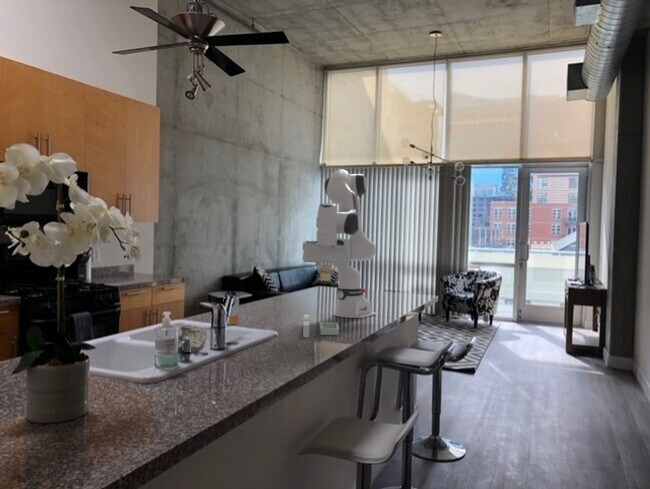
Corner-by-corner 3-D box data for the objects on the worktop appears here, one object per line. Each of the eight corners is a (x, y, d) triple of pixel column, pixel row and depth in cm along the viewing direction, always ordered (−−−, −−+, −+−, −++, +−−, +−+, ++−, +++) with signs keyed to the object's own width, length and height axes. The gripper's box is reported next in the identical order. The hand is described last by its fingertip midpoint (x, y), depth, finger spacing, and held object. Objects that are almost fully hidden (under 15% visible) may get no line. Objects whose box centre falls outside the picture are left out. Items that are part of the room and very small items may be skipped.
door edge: (303, 324, 237) (304, 313, 237) (309, 325, 237) (309, 313, 237) (303, 337, 211) (303, 324, 211) (309, 337, 211) (309, 324, 211)
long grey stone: (175, 358, 180) (204, 359, 182) (176, 343, 179) (205, 344, 181) (182, 332, 214) (206, 332, 216) (182, 319, 213) (207, 320, 215)
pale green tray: (320, 328, 230) (320, 322, 230) (337, 328, 230) (337, 322, 230) (320, 334, 216) (320, 328, 216) (338, 335, 217) (339, 328, 217)
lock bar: (329, 280, 218) (330, 266, 218) (320, 280, 218) (320, 266, 218) (330, 278, 228) (331, 264, 228) (321, 278, 228) (322, 264, 228)
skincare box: (228, 325, 232) (229, 298, 232) (222, 323, 235) (222, 297, 234) (238, 323, 237) (239, 297, 236) (232, 322, 239) (233, 296, 239)
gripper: (301, 240, 220) (301, 273, 220) (350, 242, 219) (349, 274, 219) (303, 240, 226) (302, 271, 227) (350, 241, 225) (349, 273, 226)
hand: (325, 273), depth 223 cm, fingers closed on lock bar, 4 cm apart
